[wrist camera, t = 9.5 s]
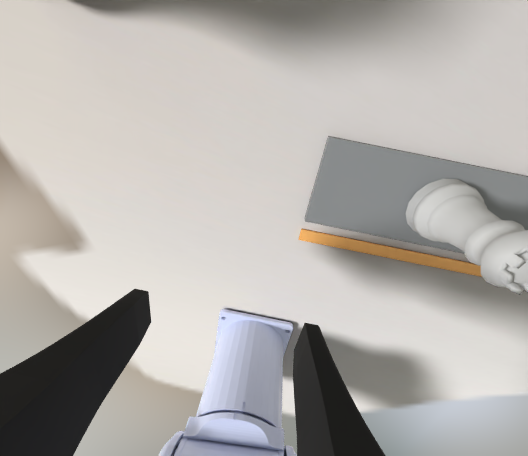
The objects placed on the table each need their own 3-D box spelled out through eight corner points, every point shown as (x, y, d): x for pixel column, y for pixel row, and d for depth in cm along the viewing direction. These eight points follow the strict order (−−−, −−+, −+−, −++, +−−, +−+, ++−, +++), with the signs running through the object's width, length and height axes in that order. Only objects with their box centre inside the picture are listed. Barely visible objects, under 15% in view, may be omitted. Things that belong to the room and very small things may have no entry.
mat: (539, 265, 19) (546, 270, 19) (304, 218, 19) (305, 221, 19) (606, 192, 16) (617, 195, 16) (328, 136, 16) (329, 136, 16)
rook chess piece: (474, 171, 16) (629, 219, 9) (463, 228, 18) (582, 307, 10) (404, 182, 16) (493, 235, 9) (400, 236, 18) (472, 314, 11)
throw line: (522, 284, 20) (525, 285, 20) (298, 238, 20) (298, 239, 20) (531, 275, 20) (533, 276, 19) (301, 228, 20) (301, 229, 19)
